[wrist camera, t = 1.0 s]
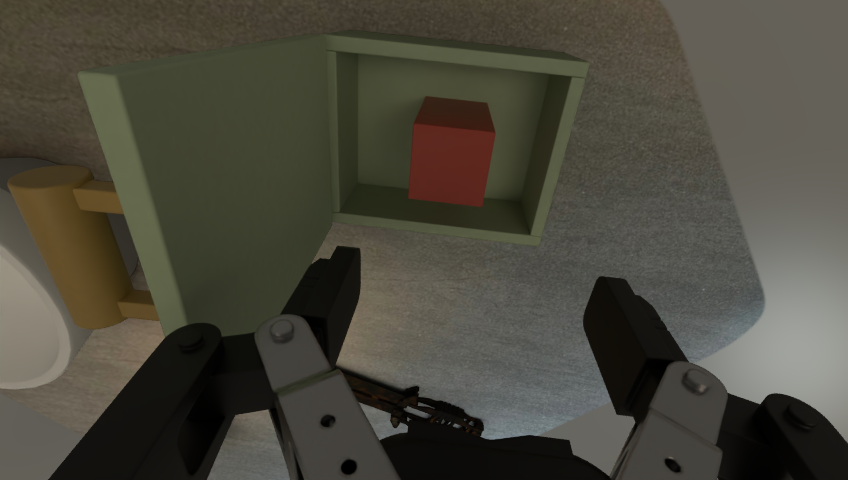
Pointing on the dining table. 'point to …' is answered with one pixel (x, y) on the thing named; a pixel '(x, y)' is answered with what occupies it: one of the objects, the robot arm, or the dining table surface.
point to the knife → (411, 400)
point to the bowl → (37, 295)
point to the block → (451, 151)
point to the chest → (454, 79)
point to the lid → (192, 187)
